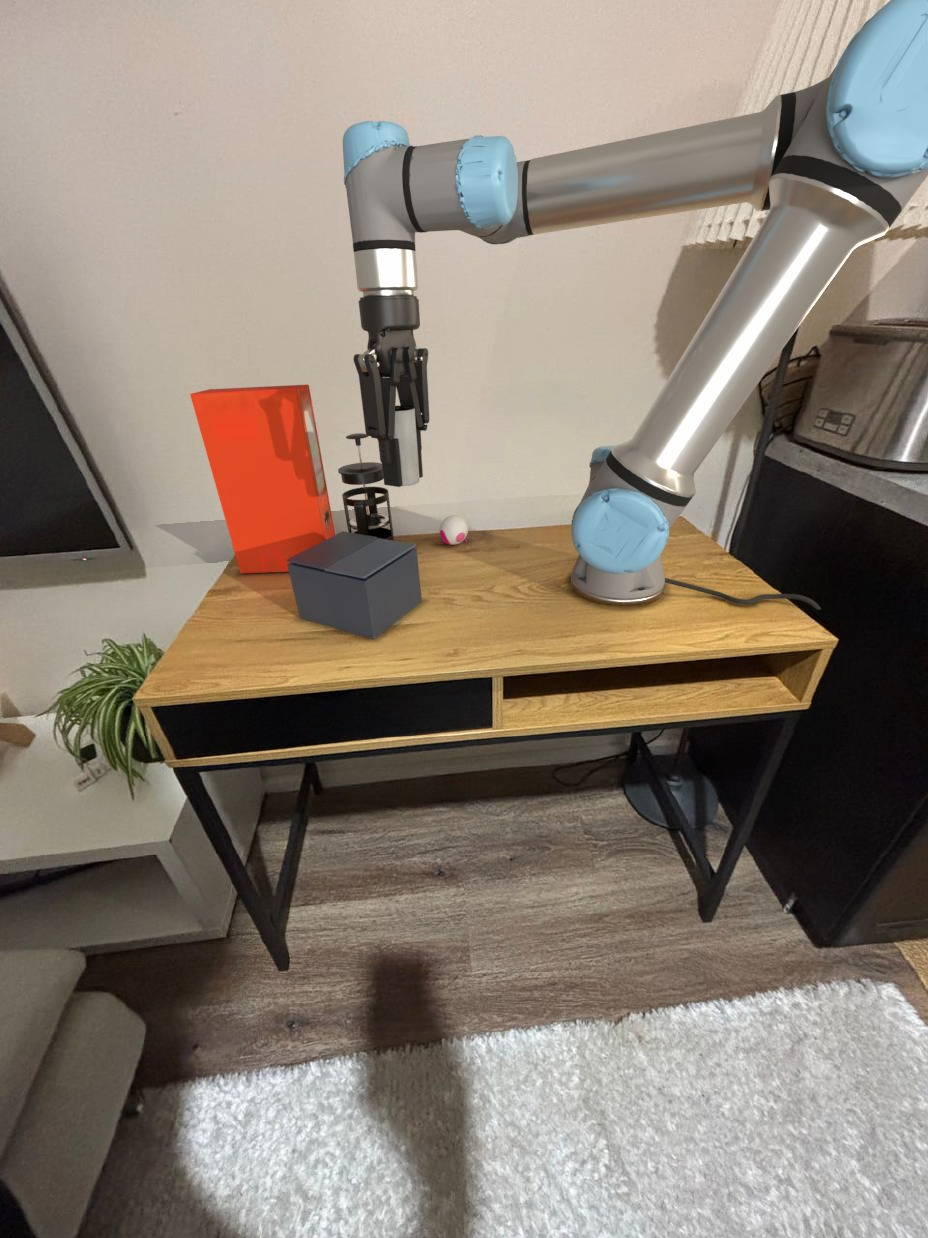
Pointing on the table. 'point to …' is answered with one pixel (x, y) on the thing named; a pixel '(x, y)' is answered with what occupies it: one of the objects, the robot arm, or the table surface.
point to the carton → (353, 588)
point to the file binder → (266, 471)
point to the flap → (370, 558)
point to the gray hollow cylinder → (407, 443)
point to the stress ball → (453, 530)
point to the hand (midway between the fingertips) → (404, 480)
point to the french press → (366, 497)
